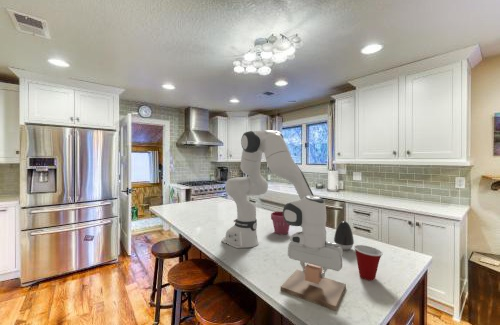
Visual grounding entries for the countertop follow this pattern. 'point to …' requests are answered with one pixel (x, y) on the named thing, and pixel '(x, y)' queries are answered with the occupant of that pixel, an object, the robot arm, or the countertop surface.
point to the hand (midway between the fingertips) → (313, 275)
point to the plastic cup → (367, 261)
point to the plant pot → (279, 223)
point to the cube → (313, 273)
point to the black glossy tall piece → (344, 236)
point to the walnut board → (315, 290)
